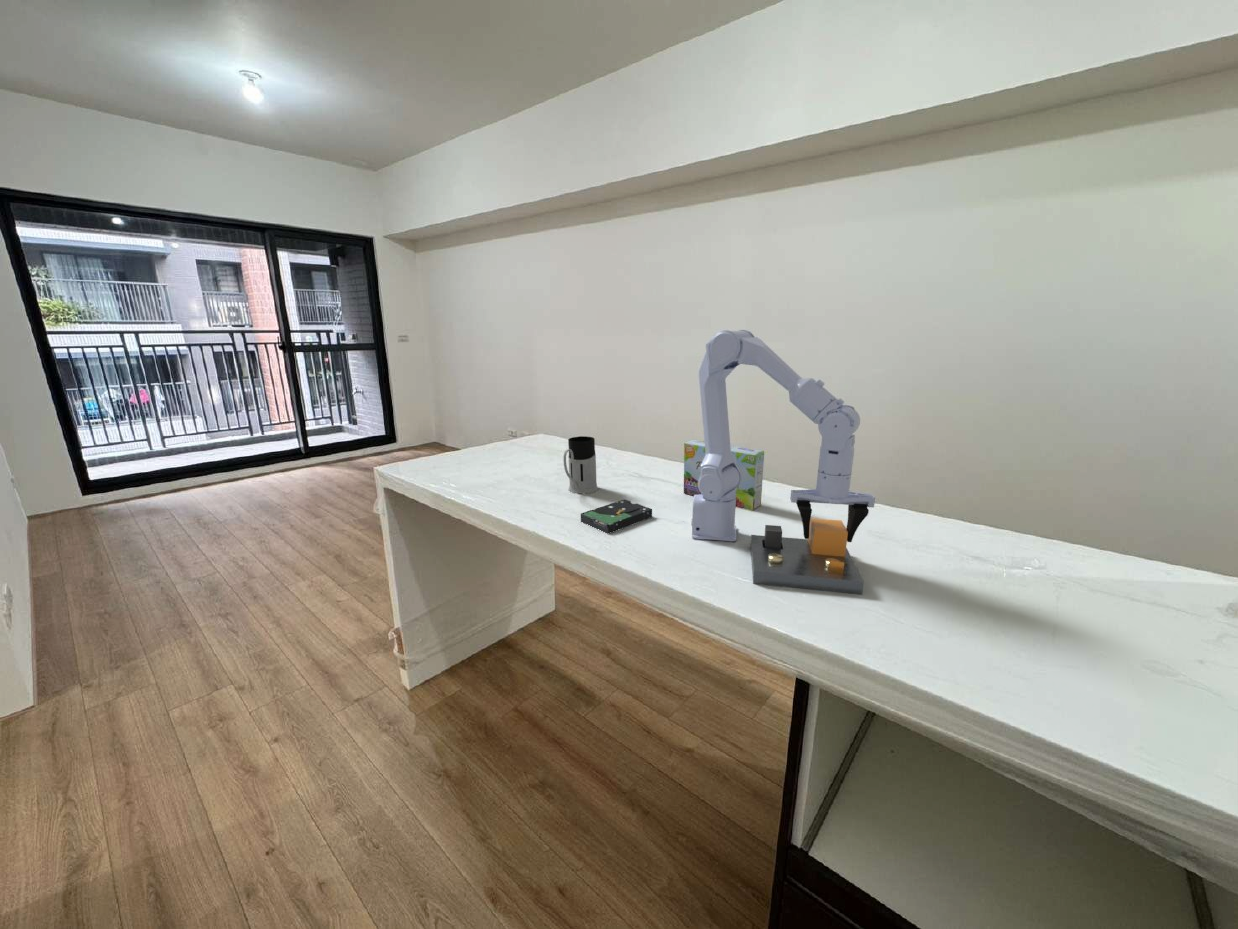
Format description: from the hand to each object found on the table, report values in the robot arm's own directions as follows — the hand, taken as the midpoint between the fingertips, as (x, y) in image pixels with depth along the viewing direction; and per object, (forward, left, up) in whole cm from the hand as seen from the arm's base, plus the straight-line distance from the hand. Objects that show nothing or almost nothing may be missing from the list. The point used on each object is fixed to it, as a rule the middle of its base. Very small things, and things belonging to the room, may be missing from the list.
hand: (827, 538), depth 92 cm
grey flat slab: (-5, -4, -5) cm, 8 cm away
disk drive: (-45, +13, -5) cm, 47 cm away
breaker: (-10, 0, -3) cm, 10 cm away
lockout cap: (0, 0, -2) cm, 2 cm away
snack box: (-21, +32, -5) cm, 39 cm away
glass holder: (-61, +31, -5) cm, 69 cm away
